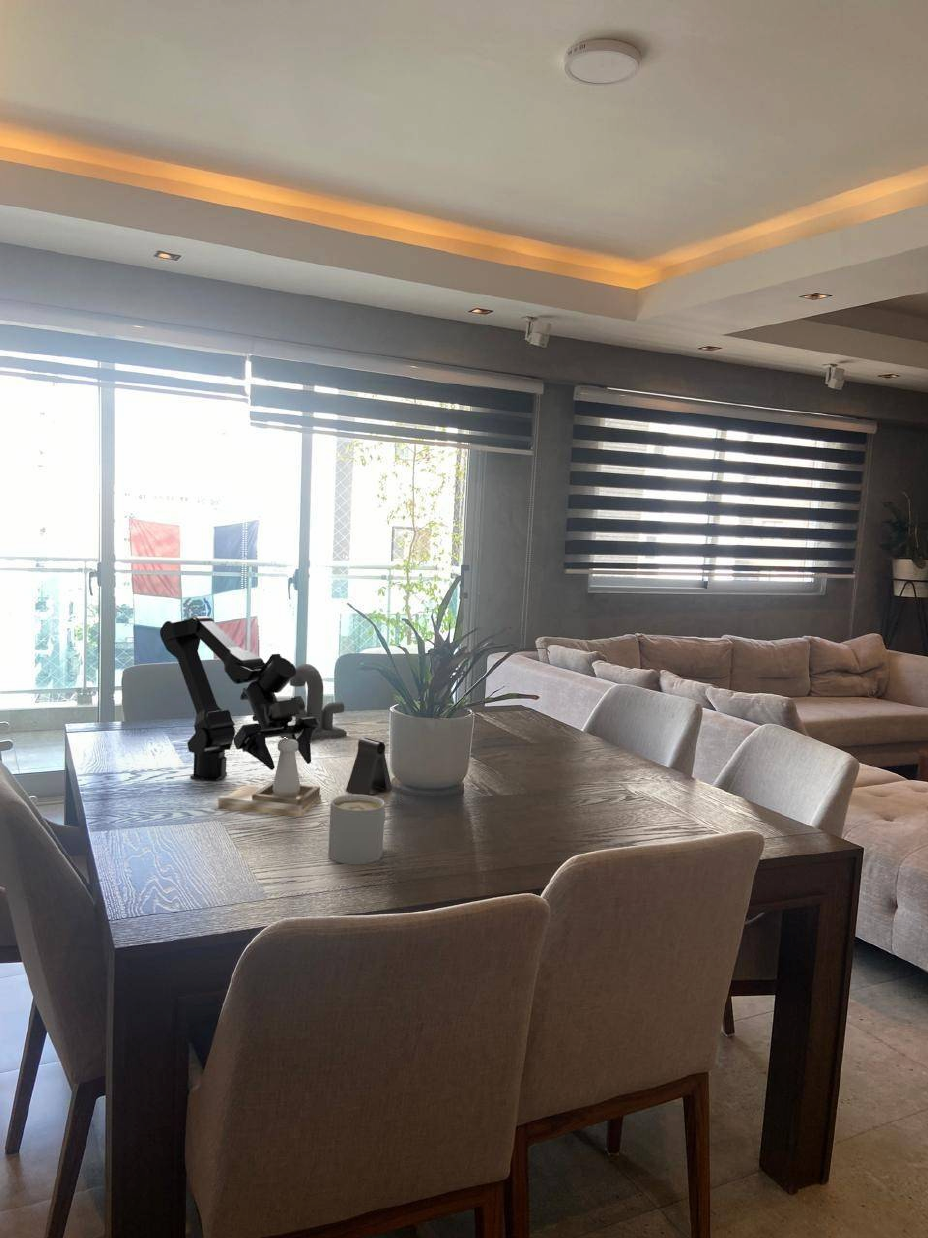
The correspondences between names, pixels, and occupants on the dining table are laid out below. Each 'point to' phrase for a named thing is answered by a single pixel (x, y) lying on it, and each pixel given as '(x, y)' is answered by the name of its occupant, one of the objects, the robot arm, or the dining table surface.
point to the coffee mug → (356, 829)
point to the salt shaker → (287, 770)
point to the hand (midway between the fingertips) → (291, 765)
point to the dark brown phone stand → (369, 770)
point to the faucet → (317, 703)
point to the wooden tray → (271, 800)
